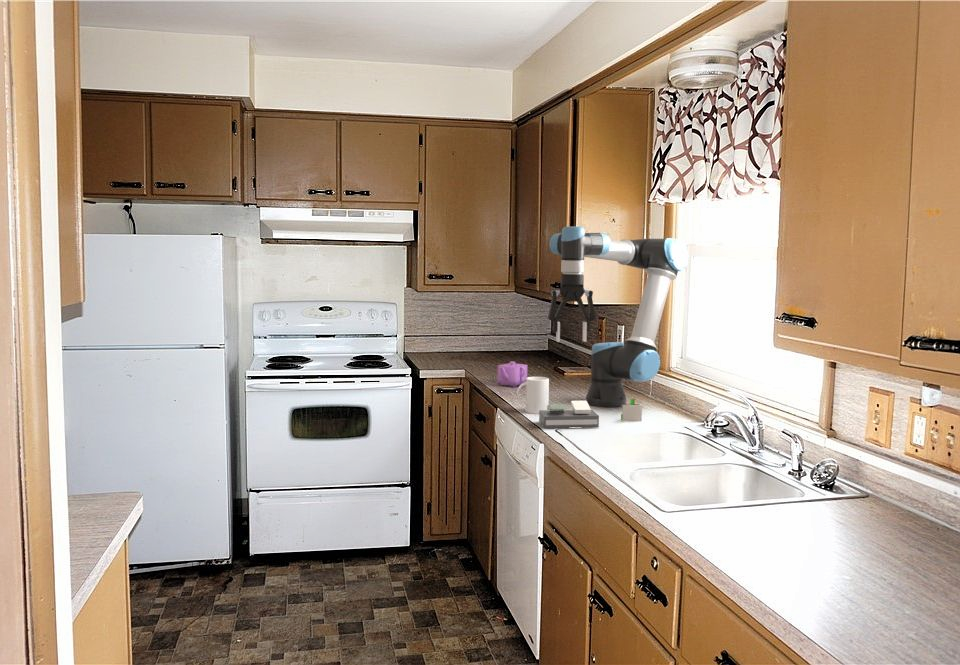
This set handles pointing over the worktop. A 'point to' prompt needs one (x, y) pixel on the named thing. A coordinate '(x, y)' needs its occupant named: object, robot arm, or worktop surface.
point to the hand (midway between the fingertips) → (571, 341)
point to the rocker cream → (580, 407)
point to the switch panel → (567, 419)
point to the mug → (536, 394)
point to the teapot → (512, 374)
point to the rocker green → (556, 407)
